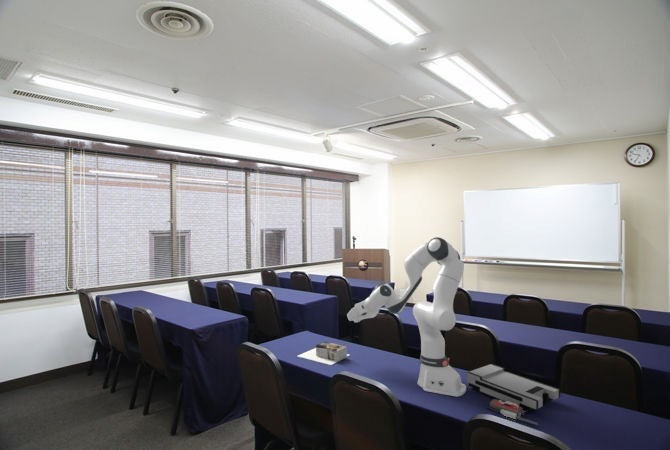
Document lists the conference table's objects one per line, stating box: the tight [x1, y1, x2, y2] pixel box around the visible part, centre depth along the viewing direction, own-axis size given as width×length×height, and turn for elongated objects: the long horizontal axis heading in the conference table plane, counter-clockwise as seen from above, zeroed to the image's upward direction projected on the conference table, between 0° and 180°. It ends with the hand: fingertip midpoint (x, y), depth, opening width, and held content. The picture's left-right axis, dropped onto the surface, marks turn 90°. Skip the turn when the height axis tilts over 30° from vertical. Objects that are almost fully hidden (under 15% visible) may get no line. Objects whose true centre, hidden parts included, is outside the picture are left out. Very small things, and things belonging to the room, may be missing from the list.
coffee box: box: [315, 341, 348, 363], centre depth 215 cm, size 9×6×16 cm
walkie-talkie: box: [486, 399, 539, 426], centre depth 150 cm, size 9×4×20 cm
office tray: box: [466, 363, 561, 412], centre depth 167 cm, size 21×32×8 cm, turn 35°
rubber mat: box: [296, 347, 351, 366], centre depth 217 cm, size 24×20×1 cm
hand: (355, 321), depth 209 cm, fingers closed
